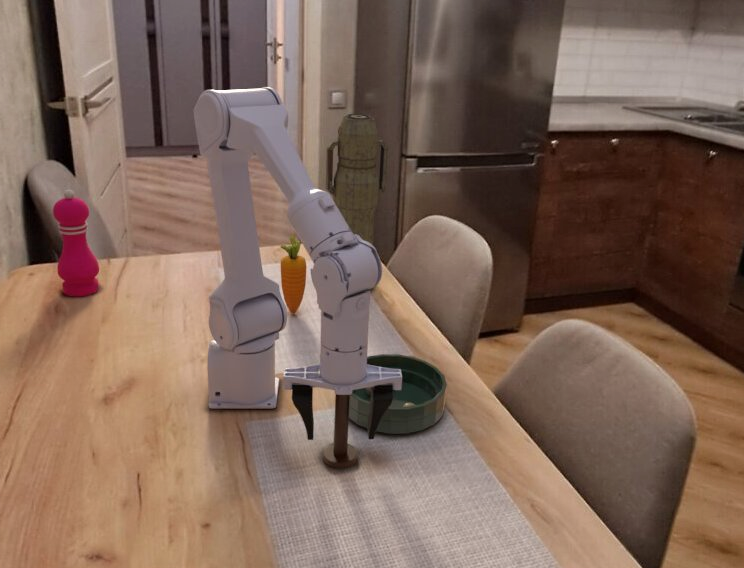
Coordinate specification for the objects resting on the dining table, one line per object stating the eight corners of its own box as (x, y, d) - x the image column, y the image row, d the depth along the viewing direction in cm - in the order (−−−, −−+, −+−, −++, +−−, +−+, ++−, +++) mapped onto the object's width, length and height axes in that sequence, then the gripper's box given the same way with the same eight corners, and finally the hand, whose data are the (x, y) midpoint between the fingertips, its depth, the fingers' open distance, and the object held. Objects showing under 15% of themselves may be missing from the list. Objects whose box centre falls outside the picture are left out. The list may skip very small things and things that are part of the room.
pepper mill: (63, 284, 131) (49, 184, 123) (103, 282, 133) (92, 184, 126) (57, 299, 125) (43, 195, 117) (99, 296, 127) (87, 194, 119)
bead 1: (366, 399, 99) (366, 386, 98) (365, 391, 101) (366, 379, 100) (380, 399, 99) (381, 386, 98) (379, 391, 101) (380, 379, 100)
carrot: (301, 321, 123) (302, 244, 117) (275, 317, 124) (275, 240, 118) (310, 310, 127) (311, 235, 122) (285, 306, 128) (285, 232, 122)
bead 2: (402, 421, 94) (403, 408, 94) (400, 412, 96) (401, 399, 96) (417, 421, 95) (418, 408, 94) (415, 412, 97) (416, 399, 96)
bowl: (342, 437, 91) (343, 409, 89) (340, 378, 105) (341, 353, 103) (451, 436, 93) (454, 408, 91) (435, 379, 107) (437, 354, 105)
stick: (322, 468, 85) (325, 373, 79) (323, 447, 89) (326, 355, 83) (357, 468, 85) (362, 374, 80) (356, 447, 89) (361, 356, 84)
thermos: (317, 280, 141) (320, 112, 128) (369, 274, 146) (377, 111, 132) (331, 297, 133) (336, 120, 120) (385, 290, 138) (396, 119, 125)
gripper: (281, 356, 76) (281, 455, 81) (407, 357, 77) (400, 453, 83) (284, 328, 82) (285, 421, 87) (401, 330, 84) (394, 420, 89)
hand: (340, 435), depth 85 cm, fingers open, 7 cm apart
